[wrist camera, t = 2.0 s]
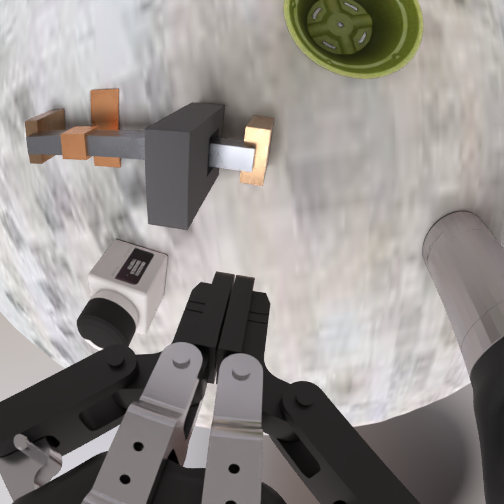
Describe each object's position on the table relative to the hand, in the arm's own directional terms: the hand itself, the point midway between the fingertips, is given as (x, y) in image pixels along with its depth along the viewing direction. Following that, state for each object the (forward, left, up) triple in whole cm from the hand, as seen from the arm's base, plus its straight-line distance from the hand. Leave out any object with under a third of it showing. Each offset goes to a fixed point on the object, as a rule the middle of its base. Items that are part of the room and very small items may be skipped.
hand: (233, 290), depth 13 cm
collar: (+6, 0, -19) cm, 20 cm away
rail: (+13, 0, -21) cm, 25 cm away
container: (+15, +19, -21) cm, 32 cm away
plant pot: (-4, -13, -21) cm, 25 cm away
